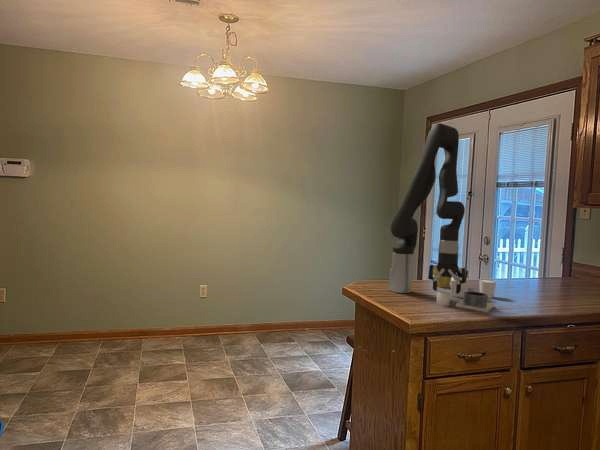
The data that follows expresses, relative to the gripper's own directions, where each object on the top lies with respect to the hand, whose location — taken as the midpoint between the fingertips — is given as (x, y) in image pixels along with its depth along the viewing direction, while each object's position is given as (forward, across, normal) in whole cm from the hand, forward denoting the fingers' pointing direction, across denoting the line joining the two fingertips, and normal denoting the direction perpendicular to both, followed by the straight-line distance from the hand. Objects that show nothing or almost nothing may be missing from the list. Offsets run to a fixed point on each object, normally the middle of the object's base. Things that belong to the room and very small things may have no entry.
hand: (446, 292), depth 181 cm
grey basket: (+5, -10, -5) cm, 13 cm away
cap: (+5, +1, 0) cm, 5 cm away
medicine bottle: (+5, -1, -21) cm, 22 cm away
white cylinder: (+6, -11, -29) cm, 32 cm away
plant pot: (+5, +11, -39) cm, 41 cm away
